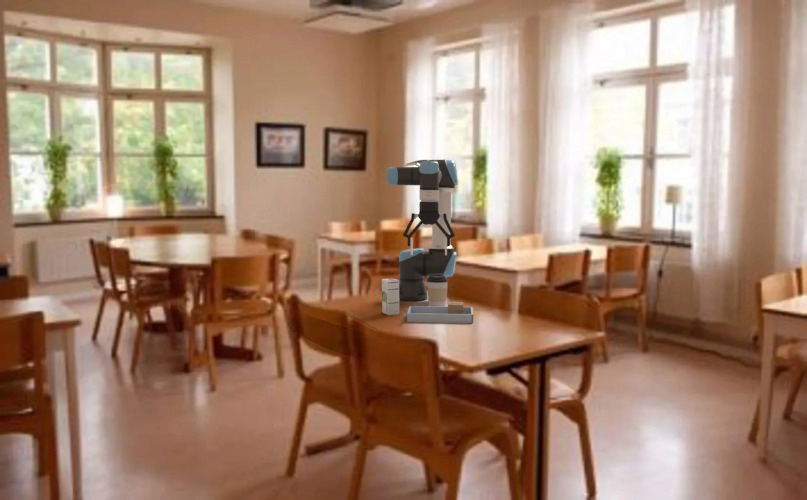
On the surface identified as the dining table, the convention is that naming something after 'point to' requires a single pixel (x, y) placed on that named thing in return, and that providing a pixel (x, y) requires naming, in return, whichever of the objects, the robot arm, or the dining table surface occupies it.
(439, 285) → the coffee cup
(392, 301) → the syrup box
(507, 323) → the dining table surface
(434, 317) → the tray
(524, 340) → the dining table surface
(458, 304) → the walnut block
